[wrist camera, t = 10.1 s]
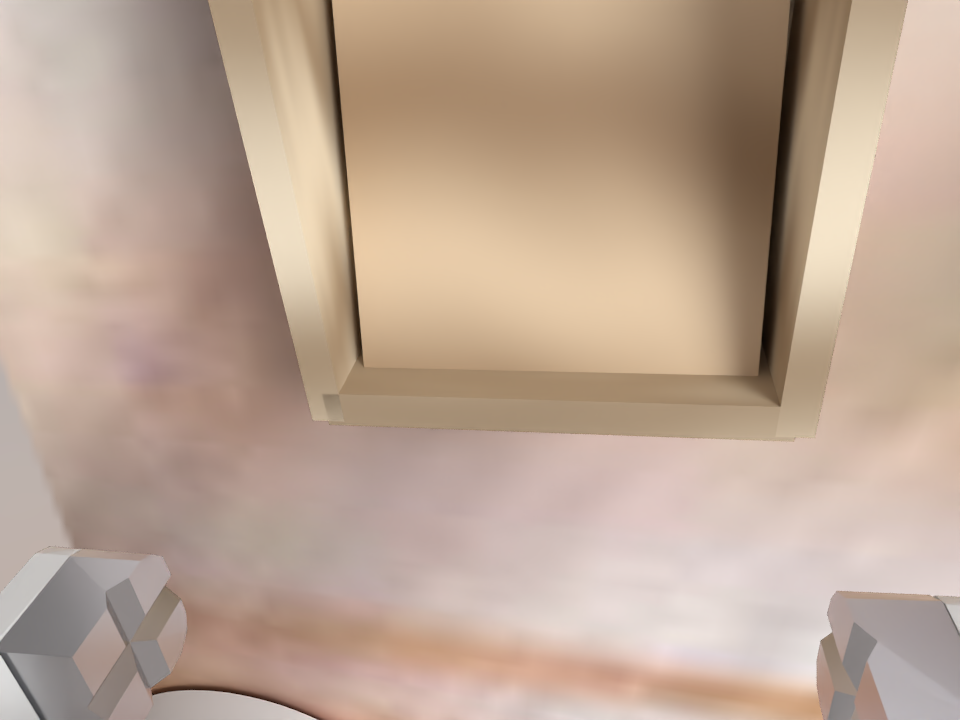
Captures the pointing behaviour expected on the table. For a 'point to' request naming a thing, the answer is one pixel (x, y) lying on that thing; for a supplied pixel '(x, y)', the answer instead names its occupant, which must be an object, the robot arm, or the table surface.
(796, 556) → the table surface
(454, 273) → the tan wooden tray
